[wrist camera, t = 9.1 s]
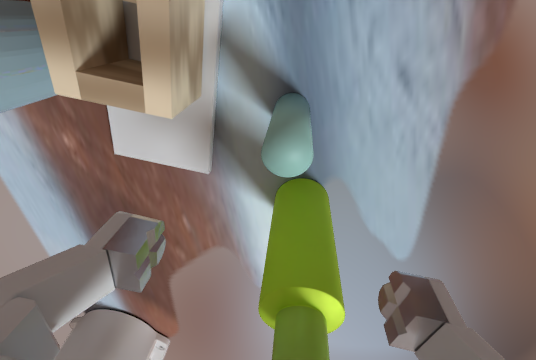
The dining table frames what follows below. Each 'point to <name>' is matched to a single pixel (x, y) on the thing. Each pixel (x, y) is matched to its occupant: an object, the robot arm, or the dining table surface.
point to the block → (124, 52)
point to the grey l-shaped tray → (182, 125)
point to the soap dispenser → (301, 274)
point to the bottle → (21, 57)
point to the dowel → (289, 137)
